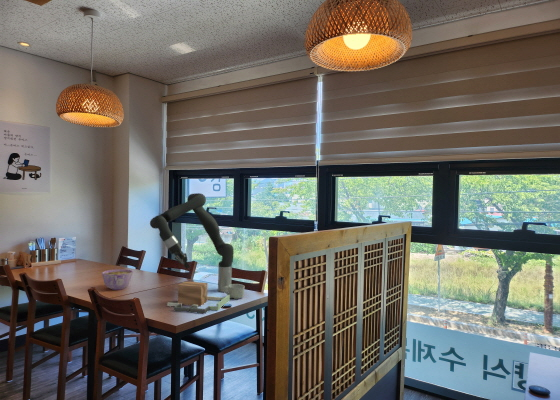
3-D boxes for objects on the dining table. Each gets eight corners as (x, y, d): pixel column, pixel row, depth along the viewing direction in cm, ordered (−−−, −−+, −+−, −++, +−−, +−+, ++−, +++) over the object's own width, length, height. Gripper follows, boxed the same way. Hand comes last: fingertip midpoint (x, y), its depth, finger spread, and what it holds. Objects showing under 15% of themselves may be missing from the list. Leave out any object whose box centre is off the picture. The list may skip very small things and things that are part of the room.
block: (184, 300, 244) (185, 281, 244) (207, 302, 241) (207, 282, 241) (177, 304, 234) (178, 284, 234) (200, 306, 231) (201, 286, 231)
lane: (182, 297, 250) (182, 291, 250) (229, 301, 244) (229, 294, 244) (161, 309, 222) (161, 302, 222) (213, 314, 216) (213, 307, 216)
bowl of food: (121, 293, 257) (121, 275, 257) (95, 290, 261) (95, 273, 261) (138, 286, 277) (138, 270, 276) (113, 284, 281) (113, 268, 280)
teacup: (244, 295, 258) (245, 284, 258) (243, 300, 247) (244, 287, 247) (224, 295, 258) (224, 283, 258) (222, 299, 247) (222, 287, 247)
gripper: (181, 239, 232) (197, 263, 234) (173, 242, 242) (188, 265, 244) (171, 246, 227) (187, 270, 229) (163, 249, 237) (179, 272, 240)
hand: (188, 267), depth 237 cm, fingers closed
